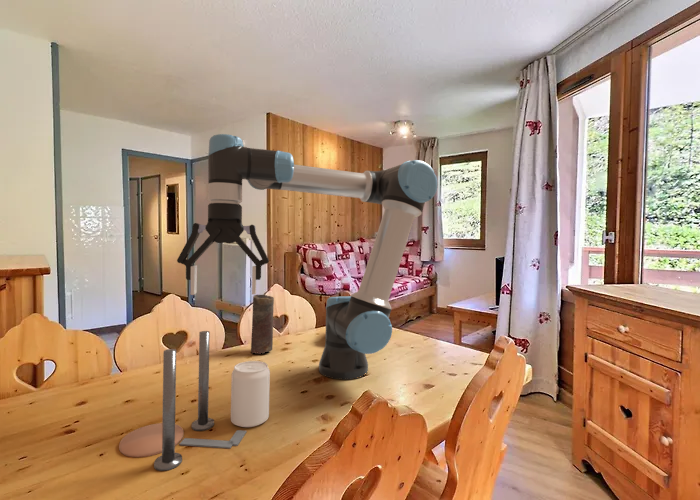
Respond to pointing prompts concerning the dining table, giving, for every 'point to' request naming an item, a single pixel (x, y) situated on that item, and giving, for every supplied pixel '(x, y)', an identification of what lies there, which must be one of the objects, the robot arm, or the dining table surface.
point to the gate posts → (169, 396)
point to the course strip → (215, 441)
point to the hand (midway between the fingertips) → (224, 293)
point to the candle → (262, 324)
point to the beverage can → (250, 393)
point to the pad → (146, 441)
